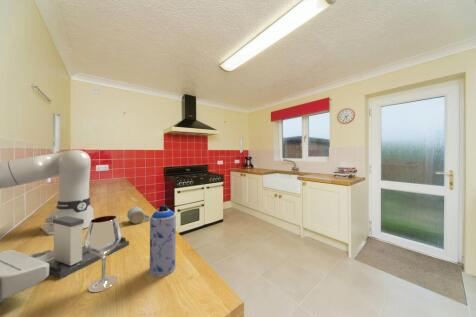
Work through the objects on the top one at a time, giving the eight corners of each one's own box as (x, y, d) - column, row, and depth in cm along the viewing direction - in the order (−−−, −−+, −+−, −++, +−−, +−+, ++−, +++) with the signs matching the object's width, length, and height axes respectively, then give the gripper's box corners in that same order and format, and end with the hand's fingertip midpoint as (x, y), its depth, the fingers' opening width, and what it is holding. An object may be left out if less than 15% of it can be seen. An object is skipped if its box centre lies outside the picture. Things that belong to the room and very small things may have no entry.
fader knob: (52, 259, 55) (52, 219, 55) (66, 254, 59) (66, 215, 59) (70, 266, 52) (70, 223, 52) (83, 260, 55) (83, 219, 55)
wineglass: (98, 274, 51) (99, 214, 51) (127, 273, 52) (127, 213, 52) (74, 296, 43) (75, 225, 43) (109, 294, 44) (109, 224, 44)
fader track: (37, 269, 53) (37, 261, 53) (108, 239, 73) (108, 234, 73) (60, 279, 49) (60, 270, 49) (129, 244, 69) (129, 238, 69)
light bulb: (129, 226, 88) (130, 211, 88) (126, 221, 94) (127, 207, 94) (151, 221, 95) (152, 207, 95) (147, 217, 101) (148, 204, 101)
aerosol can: (150, 264, 56) (150, 203, 56) (175, 259, 59) (176, 201, 59) (147, 280, 49) (147, 210, 49) (176, 273, 52) (176, 207, 52)
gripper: (-49, 286, 42) (33, 256, 55) (-11, 312, 35) (73, 271, 48) (-48, 260, 42) (34, 236, 55) (-10, 281, 35) (73, 249, 48)
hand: (52, 253), depth 52 cm, fingers closed
